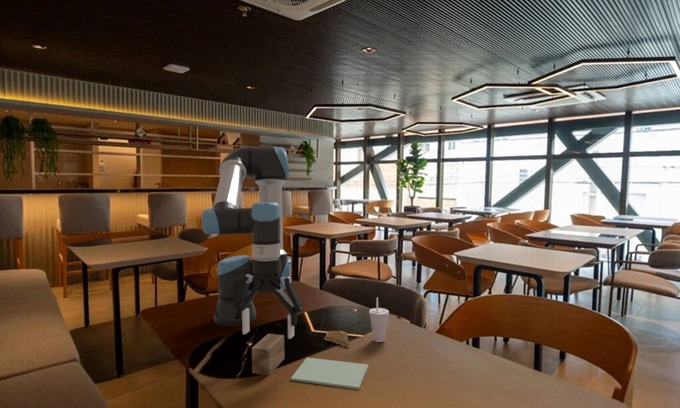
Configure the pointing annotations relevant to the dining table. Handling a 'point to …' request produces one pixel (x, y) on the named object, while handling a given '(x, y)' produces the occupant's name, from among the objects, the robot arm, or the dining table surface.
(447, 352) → the dining table surface
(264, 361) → the beige block
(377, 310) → the smoothie
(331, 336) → the shard
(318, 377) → the felt mat
